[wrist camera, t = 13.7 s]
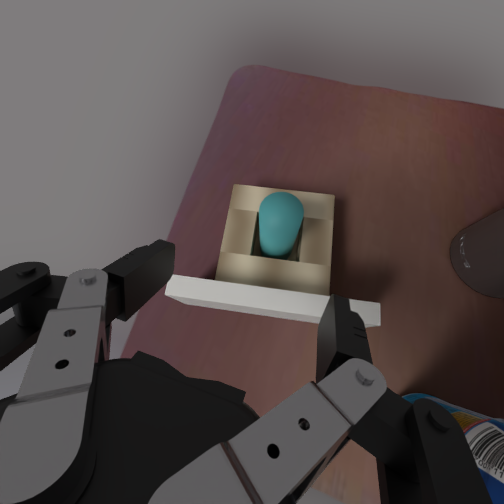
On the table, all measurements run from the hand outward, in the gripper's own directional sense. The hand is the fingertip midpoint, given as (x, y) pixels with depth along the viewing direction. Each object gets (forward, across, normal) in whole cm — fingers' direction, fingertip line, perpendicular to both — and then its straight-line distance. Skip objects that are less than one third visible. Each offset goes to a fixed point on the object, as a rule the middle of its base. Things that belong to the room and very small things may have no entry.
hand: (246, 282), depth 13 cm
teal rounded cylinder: (+19, 0, +7) cm, 20 cm away
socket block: (+20, 0, +7) cm, 21 cm away
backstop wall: (+14, -1, +12) cm, 19 cm away
